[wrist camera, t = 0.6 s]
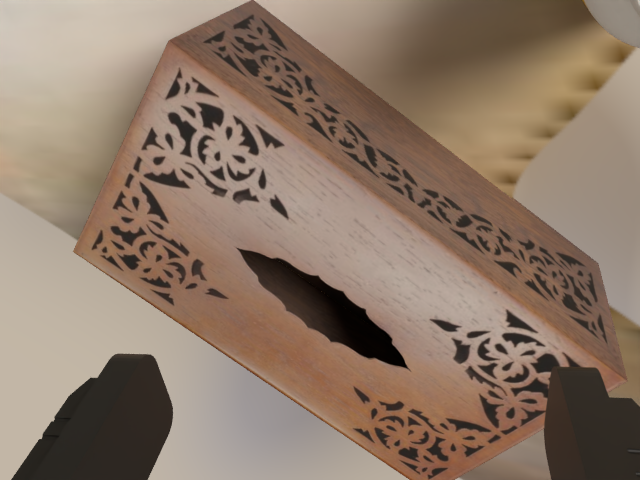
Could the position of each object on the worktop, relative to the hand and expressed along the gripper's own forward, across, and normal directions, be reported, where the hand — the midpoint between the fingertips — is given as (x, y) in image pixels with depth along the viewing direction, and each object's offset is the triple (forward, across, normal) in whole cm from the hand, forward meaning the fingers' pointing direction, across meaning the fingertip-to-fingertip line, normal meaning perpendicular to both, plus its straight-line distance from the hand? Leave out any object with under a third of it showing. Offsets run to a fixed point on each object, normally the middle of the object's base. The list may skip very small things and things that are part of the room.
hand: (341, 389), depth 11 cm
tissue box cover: (+24, +2, +10) cm, 26 cm away
